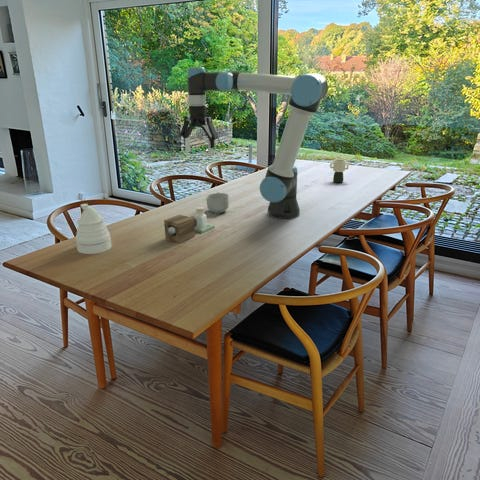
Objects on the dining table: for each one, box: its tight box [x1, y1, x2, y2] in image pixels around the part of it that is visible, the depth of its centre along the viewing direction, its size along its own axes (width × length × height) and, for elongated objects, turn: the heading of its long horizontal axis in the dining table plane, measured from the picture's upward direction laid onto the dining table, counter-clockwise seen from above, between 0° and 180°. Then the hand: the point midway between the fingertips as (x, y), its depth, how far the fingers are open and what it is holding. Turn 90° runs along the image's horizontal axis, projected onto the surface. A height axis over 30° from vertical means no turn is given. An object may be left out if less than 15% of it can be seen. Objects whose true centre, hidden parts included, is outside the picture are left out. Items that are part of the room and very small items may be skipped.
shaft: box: [168, 216, 197, 235], centre depth 185 cm, size 5×14×5 cm, turn 145°
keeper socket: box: [194, 223, 215, 234], centre depth 195 cm, size 8×8×1 cm
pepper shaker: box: [194, 206, 208, 229], centre depth 194 cm, size 4×4×10 cm
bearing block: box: [163, 214, 196, 244], centre depth 184 cm, size 8×9×8 cm
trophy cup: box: [329, 158, 350, 183], centre depth 269 cm, size 11×7×13 cm, turn 65°
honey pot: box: [75, 203, 112, 255], centre depth 173 cm, size 13×13×18 cm
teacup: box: [205, 191, 230, 214], centre depth 218 cm, size 14×11×8 cm
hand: (199, 153), depth 204 cm, fingers open, 13 cm apart
